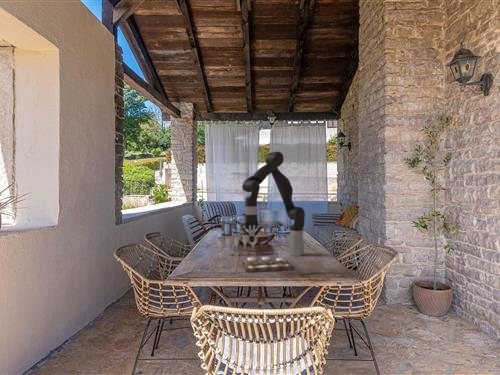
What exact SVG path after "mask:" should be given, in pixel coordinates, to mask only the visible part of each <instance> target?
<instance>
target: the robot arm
mask: <svg viewBox="0 0 500 375" xmlns="http://www.w3.org/2000/svg"><path fill="white" fill-rule="evenodd" d="M264 160H265V164H264V165H263V166H261V167H260V168H258V169H257V170H256V171H255V173H253V175H251V176H249V177H248V178H246V179H245V180H244V181H243V182H242V186H241V188H242V190H243V191H244V192H245V193H250V195H248V196H246V197H245V198H244V200H245V201H244V203H245V204H244V208H245V209H244V225H243V226H241V227H240V229H241V230H242V231H243V233H244V235H246V236H247V237H248V242H249V241H250V242H253V241H254V237H256V236H258V234H259V233H260V231H261V230H262V229H263V228H262V226H261V225H259V221H258V218H259V217H258V216H259V212H258V197H259V193H260V188H261V186H260V184H262V183H263V182H264V181H265V180H266V178H267V177H268V176H269V175H271V176H272V178H273V180H274V182H275V184H276V188H277V189H278V192H279V195H280V196H281V199H282V202H283V205H284V209H285V211H286V214H287V216H288V218H289V219H290V220H292V221H294V222H293V224H291V225H289V255H290V256H293V257H294V256H295V257H300V256H305V240H304V227H305V219H306V218H305V217H306V216H305V214H306V213H305V210H304V208H303V207H300V206H296V205H295V204H294V202H293V192H294V189H293V185H292V184H291V181H290V180H289V178H288V177H287V176H286V175H285V174H283V173H282V172H281V171H280V170H279V167H280V166H281V165H282V164H283V163H284V160H285V158H284V155H283V153H282V152H281V151H273V152H268V153H266V154H265V155H264Z"/></svg>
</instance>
